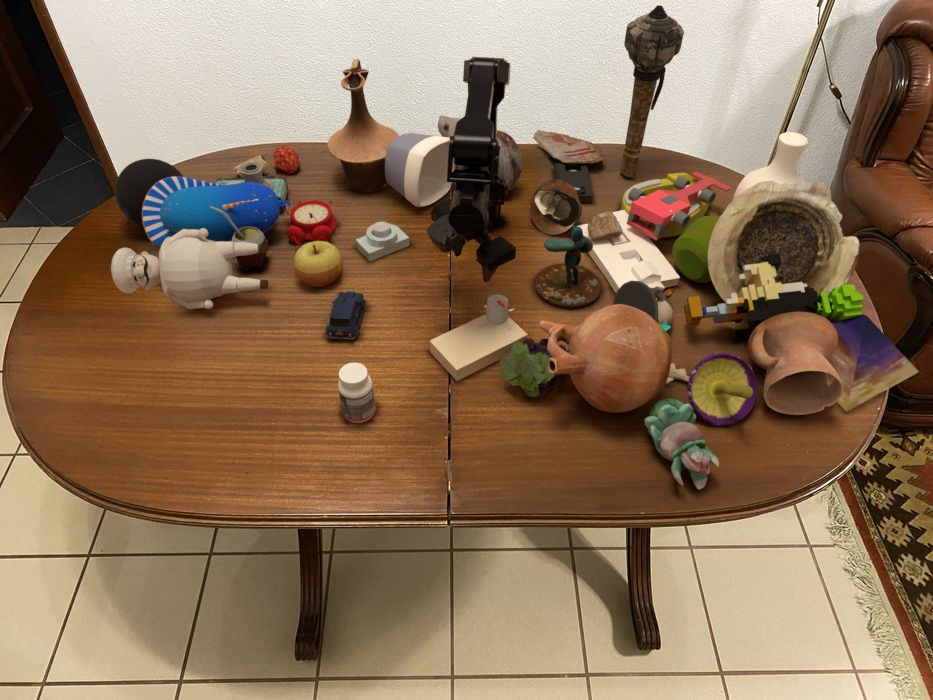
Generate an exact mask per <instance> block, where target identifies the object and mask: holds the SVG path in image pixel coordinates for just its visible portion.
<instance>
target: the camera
mask: <svg viewBox="0 0 933 700" xmlns="http://www.w3.org/2000/svg"><path fill="white" fill-rule="evenodd" d="M262 171H263V168H262V165H261V164H259V163H255V162H251V163H247V164H244V165H243V166H241V168H240V172H241V174H242V175H243V176H244V178H242V177H232V178H231V177H230V178H229V177H228V178H227V177H226V178H223V177H222V178H217V179H216V180H215V184H219V185H231V184H237V183H245V182H254V183H259V184H263V185H265V186H267V187H269V188H271V189H272V190H273V191H274V192H275V194H276V196H277V198H278V200H283V201H287V200H286V199H287V195H288V192H289V191H288V190H289V186H288V181H287V179H286V178H285V177H283V176H277V175H264V176H263V173H262ZM281 205H283V204H281ZM284 209H285V207H279V214H281V213H283V212H284Z"/></svg>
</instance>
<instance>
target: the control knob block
mask: <svg viewBox="0 0 933 700" xmlns="http://www.w3.org/2000/svg"><path fill="white" fill-rule="evenodd" d="M388 224H389V226H390V234H389V236H386V237H381V238H379V237H375V236H374V234H373V225H374V224H371V225H370V226H369V227H367V229H366V234H365V235H363V236H361V237H358V238H355V239H354V240H355V248H356V249H357V250H358V251H359V252H360V253H361V254H362V255H363V256H364V257H365V258H366V259H367V260H368V261H369V262H372V261H375V260H377V259H380V258H382V257H385V256H387V255H389V254H393V253H395V252H397V251H399V250H403V249H405V248H407V247H410V245H411V243H410V236H408V234H406V233H405V232H404V231H403V230H402V229H401V228H400V227H399V226H397V224H395V223H394V224H392V223H388Z"/></svg>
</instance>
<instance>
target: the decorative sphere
mask: <svg viewBox="0 0 933 700" xmlns="http://www.w3.org/2000/svg"><path fill="white" fill-rule="evenodd" d="M174 176H177V177H184V175H183V174H182V173H181V171H179V170H178V169H177V168H176V167H175V166H174V165H172V164H171V163H169V162H167V161H164V160H161V159H157V158H142V159H138V160H134V161H133V162H130V163H129V164H128V165H126V166H125V167H124V168H123V169H122V170H121V172H120V173H119V175H118V177H117V179H116V182H115V187H114V196H115V200H116V203H117V205H118V207H119V209H120V211H121V212H122V213H123V215H124V216H125V217H126V218H127V219H128V220H129V221H131V222H132V223H134V224H135V225H137V226H139V227H141V228H144V226H143V222H142V207H143V202H144V200H145V197H146V195H147V193H148V191H149V190H150V189H151V187H152V186H153V185H154V184H155V183H157V182H158V181H160V180H162V179H164V178H167V177H174Z"/></svg>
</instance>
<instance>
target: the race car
mask: <svg viewBox="0 0 933 700" xmlns="http://www.w3.org/2000/svg"><path fill="white" fill-rule="evenodd" d="M690 175H691V176H693V177H694V178H696V179H698V180H699V182H697V183H694V184H692V185H690V180H687V179H685V178H683V177H681V176H679V177H678V178H677V179H676V180H675V183H674V188H676V189H678V190H679V191H669V190H658V191H655V192H653V193H651V194H649V195H647V196H645V193H644V192H643V191H641V190H639V189H637V188H633V189H632V190H631V191H630V192H629V195H628V199H629V200H631V201H633V202H632V205H631V209H630V212H629V216H628V221H627V223H626V224H628V225H630V226H631V227H633V228H635V229H637V230H638V231H640V232H642V233H644V234H646V235H647V236H648V237H649V238H650V239H653V240H654V241H658V240H660V239H661V238H663V237H662V236H663V235H665V234H666V230H667V227H668V224H669V223H671V222H673V223H675V224H677V225H679V226H680V227H682V228H684V227H685V226H686V225H687V224H688V223H689V221H690V215H688V213H689V210H690V207H691V205H690V202H693V201H695V200H697V199H699V200H701V201H703V202H705V203H706V204H708V205H709V206H710V205H711V204H713V203H714V201H715V199H716V196H717V193H716V192H714V191H713V192H712V191H710V190H709V188H712V187H715V188H717V189H720V190H721V191H723V192H729V191H730V190H732V187H731V186H729V185H727V184H724V183H722V182H720V181H718V180H716V179H714V178H712V177H710V176H708V175H705V174H703V173H701V172H699V171H697V170H696V171H693V172H692V173H690ZM640 217H642V218H643V219H645V222H644V221H642V220H640ZM652 224H655V225H656V228H655V227H653V226H651V225H652Z"/></svg>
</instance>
